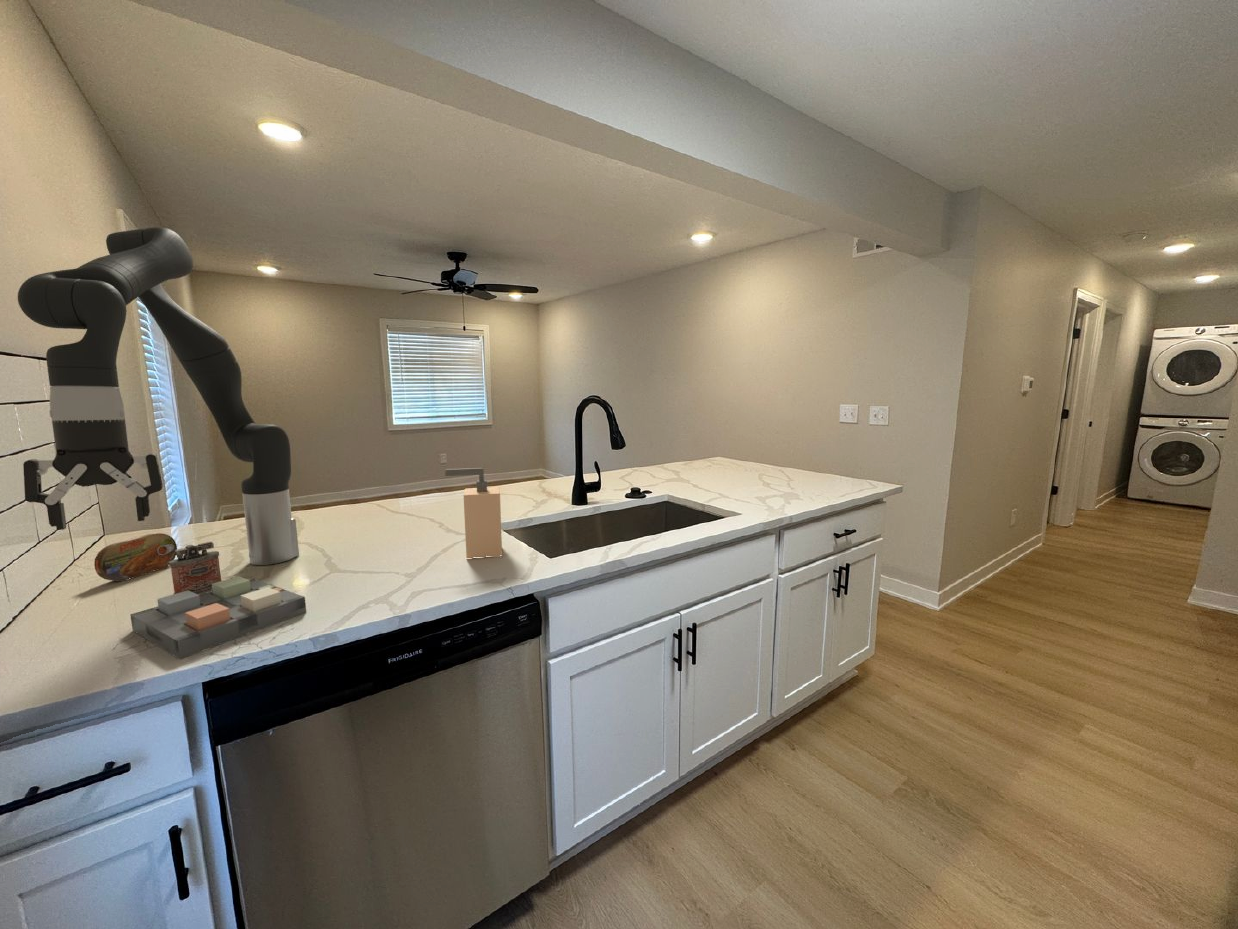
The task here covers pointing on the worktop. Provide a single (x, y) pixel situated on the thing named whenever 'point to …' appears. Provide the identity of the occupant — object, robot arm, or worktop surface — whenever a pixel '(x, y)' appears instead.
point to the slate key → (178, 602)
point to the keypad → (187, 641)
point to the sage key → (230, 587)
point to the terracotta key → (207, 616)
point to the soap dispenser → (481, 516)
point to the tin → (135, 557)
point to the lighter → (195, 569)
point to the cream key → (260, 599)
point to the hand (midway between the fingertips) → (102, 524)
